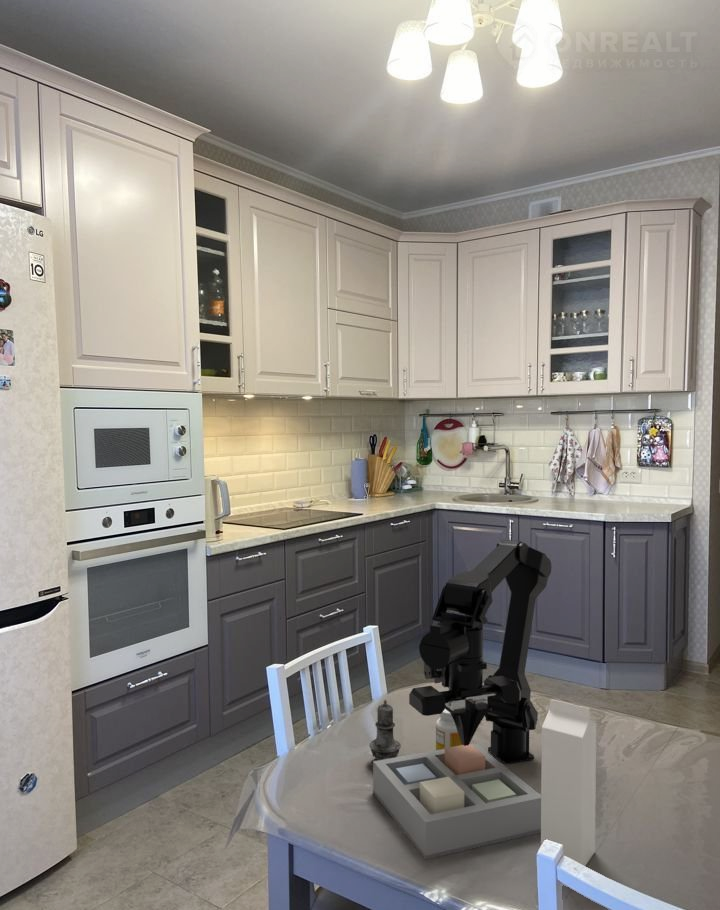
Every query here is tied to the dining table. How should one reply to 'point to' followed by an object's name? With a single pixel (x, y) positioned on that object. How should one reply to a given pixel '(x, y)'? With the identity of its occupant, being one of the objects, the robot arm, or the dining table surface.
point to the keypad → (459, 825)
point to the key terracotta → (464, 759)
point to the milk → (569, 779)
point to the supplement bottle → (446, 732)
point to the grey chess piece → (384, 735)
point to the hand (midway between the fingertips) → (465, 744)
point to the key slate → (414, 774)
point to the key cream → (441, 795)
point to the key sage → (492, 791)
